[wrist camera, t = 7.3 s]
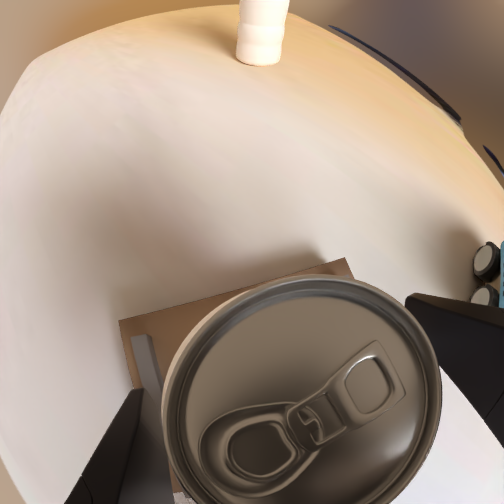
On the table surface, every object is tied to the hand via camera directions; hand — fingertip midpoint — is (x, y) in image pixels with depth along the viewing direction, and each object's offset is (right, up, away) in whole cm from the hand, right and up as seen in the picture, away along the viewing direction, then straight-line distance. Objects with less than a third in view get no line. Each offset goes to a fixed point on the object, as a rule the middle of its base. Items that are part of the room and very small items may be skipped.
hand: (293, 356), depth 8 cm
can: (-1, -5, +7) cm, 9 cm away
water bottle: (0, +34, +28) cm, 44 cm away
